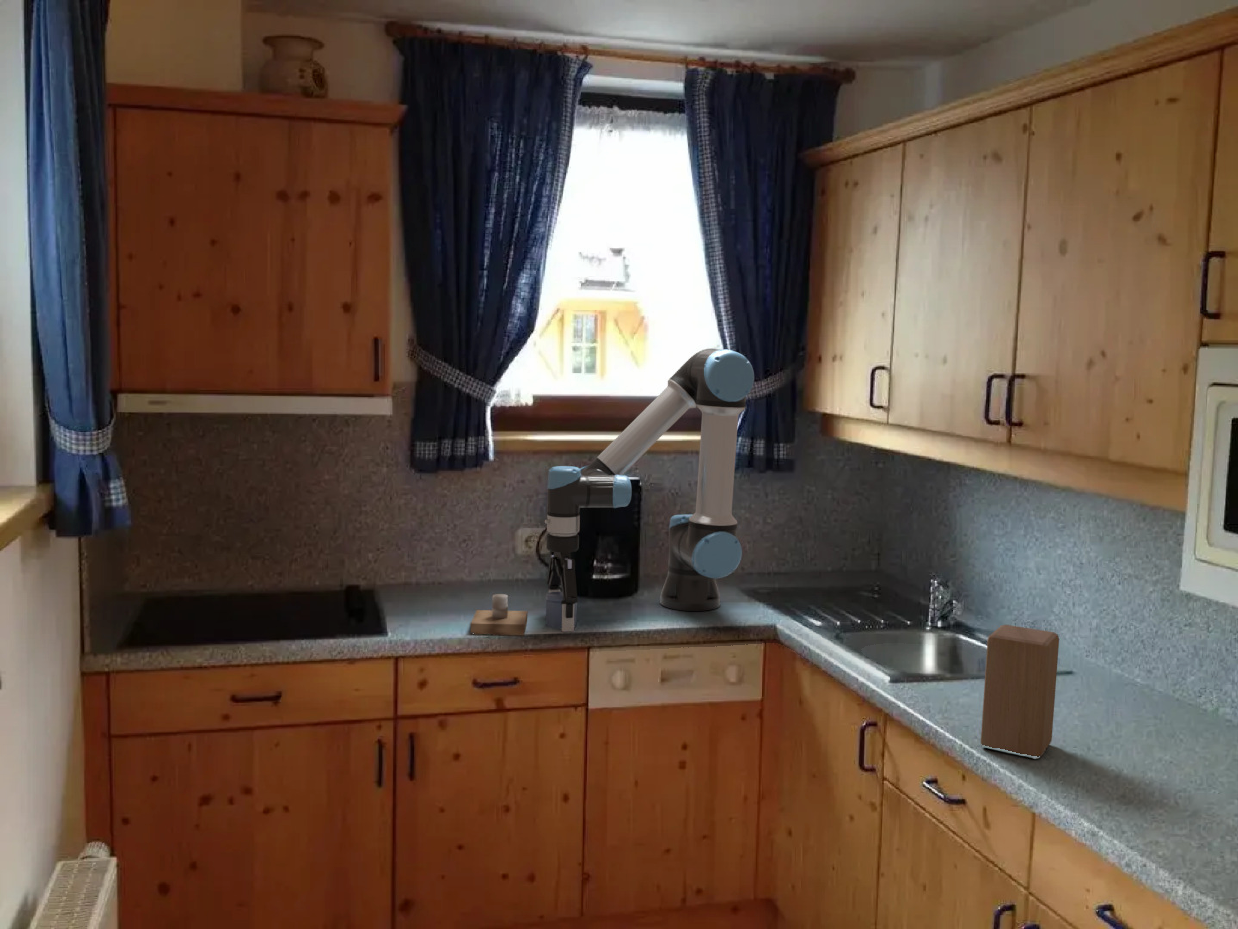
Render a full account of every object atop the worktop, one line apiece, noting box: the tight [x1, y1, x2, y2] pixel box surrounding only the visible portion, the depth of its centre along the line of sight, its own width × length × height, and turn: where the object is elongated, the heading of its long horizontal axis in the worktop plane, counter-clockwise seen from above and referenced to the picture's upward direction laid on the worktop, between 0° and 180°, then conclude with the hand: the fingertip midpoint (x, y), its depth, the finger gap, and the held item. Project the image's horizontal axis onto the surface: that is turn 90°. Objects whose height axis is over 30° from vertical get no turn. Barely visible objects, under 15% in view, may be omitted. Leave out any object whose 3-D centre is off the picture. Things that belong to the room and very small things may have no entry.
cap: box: [545, 591, 578, 629], centre depth 267 cm, size 7×7×7 cm
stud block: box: [470, 593, 529, 636], centre depth 263 cm, size 12×12×8 cm
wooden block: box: [980, 624, 1060, 757], centre depth 195 cm, size 10×10×20 cm
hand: (560, 623), depth 267 cm, fingers open, 12 cm apart
